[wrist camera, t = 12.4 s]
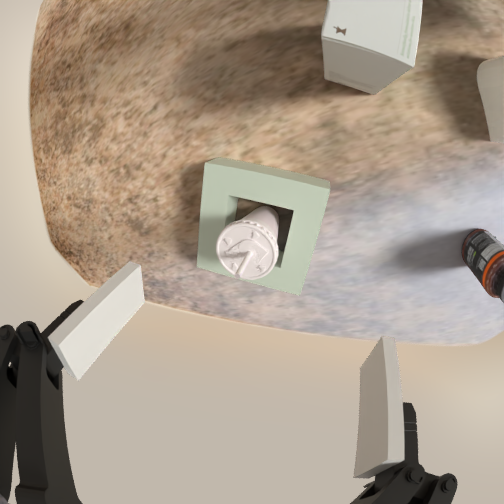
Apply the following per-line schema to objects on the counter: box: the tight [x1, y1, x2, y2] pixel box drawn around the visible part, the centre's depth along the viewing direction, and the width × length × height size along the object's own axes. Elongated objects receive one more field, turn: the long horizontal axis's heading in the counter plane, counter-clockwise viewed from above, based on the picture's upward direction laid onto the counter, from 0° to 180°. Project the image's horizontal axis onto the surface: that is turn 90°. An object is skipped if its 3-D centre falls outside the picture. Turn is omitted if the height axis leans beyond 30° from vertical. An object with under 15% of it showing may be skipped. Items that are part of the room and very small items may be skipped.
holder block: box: [197, 157, 330, 296], centre depth 33 cm, size 14×14×4 cm
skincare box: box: [321, 0, 422, 95], centre depth 16 cm, size 8×7×16 cm
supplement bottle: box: [462, 229, 504, 303], centre depth 24 cm, size 6×6×11 cm
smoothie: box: [216, 206, 279, 280], centre depth 29 cm, size 6×6×14 cm
